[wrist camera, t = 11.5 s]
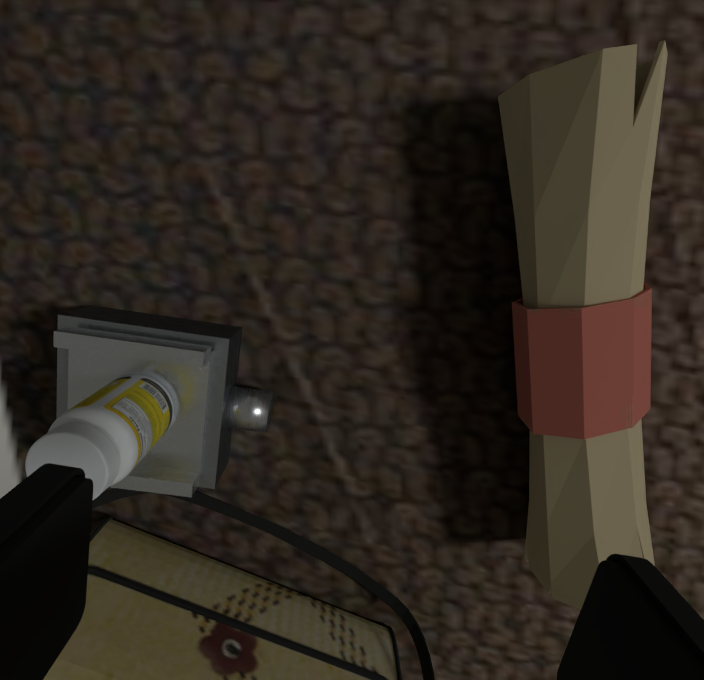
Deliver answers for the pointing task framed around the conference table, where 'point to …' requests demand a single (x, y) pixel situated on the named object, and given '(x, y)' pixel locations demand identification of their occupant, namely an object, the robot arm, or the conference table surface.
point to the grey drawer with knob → (176, 377)
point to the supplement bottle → (107, 431)
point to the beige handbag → (218, 615)
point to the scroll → (583, 305)
